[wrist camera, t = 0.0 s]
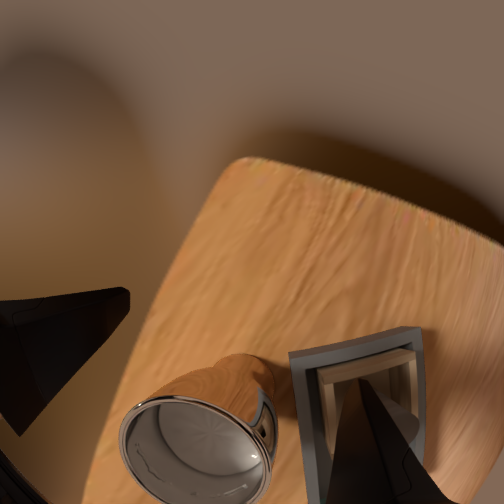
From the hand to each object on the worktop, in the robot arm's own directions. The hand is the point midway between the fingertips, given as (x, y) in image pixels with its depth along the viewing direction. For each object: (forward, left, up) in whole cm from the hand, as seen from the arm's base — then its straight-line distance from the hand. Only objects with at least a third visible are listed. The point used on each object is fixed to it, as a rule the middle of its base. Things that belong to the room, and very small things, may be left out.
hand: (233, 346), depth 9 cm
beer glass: (-5, +3, -15) cm, 16 cm away
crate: (-7, -7, -14) cm, 17 cm away
